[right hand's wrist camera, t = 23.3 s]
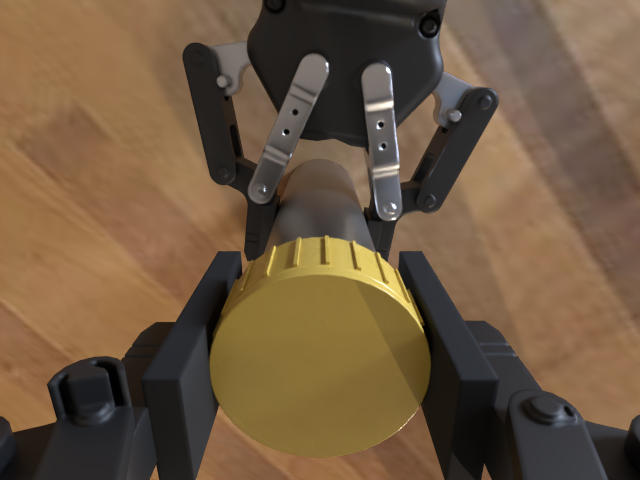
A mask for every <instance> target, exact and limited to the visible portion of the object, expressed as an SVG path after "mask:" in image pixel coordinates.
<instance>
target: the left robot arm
mask: <svg viewBox="0 0 640 480" xmlns="http://www.w3.org/2000/svg"><path fill="white" fill-rule="evenodd" d="M446 1H447V0H263V4H262V9H261V12H260V15H259V18H258V20H257V22H256V24H255V25H254V27H253V28H252V30H251V31H250V33H249V36H248V40H247V41H243V42H236V43H230V44H224V45H217V46H211V47H209V46H206V45H203V44H201V43H191V44H189V45H188V46H187V47H186V48H185V49H184V51H183V63H184V67H185V71H186V76H187V80H188V84H189V88H190V92H191V97H192V101H193V105H194V109H195V114H196V118H197V122H198V126H199V131H200V135H201V139H202V143H203V147H204V152H205V156H206V160H207V164H208V169H209V173H210V176H211V178H212V179H213V181H215V182H216V183H218V184H220V185H229V186H231V187H233V188H235V189H237V190H239V191H240V192H242V193H243V194H244V196H245V197H246V199H247V202H248V211H247V223H246V235H245V247H244V252H245V255H246V258H247V261H252V260H253V261H255V260H256V259H258V258H259V257H260V256H262V255H263V254H264V251H265V248H266V245H267V242H268V239H269V236H270V233H271V230H272V227H273V224H274V221H275V218H276V215H277V212H278V209H279V204H280V195H277V186H278V184H279V182H280V180H281V177H282V175H283V173H284V171H285V169H286V166H287V164H288V162H289V160H290V158H291V156H292V153H293V151H294V149H295V147H296V145H297V142H298V140H299V138H300V139H307V140H314V141H319V140H327V139H337V140H339V141H341V142H344V143H346V144H348V145H351V146H356V147H363V148H364V155H365V161H366V166H367V172H368V180H369V187H370V194H371V199H370V205H369V208H366V207H364V212H363V215H364V218H365V221H366V224H367V227H368V230H369V233H370V236H371V239H372V242H373V245H374V248H375V251H376V252H378V253H380V256H381V258H382V259H384V260H385V261H386V262H387V261H388V257H389V251H390V247H391V243H392V238H393V233H394V229H395V225H396V223H397V221H398V220H399V219H400V218H401V217H402V216H404V215H406V214H409V213H414V212H419V211H422V212H424V213H434V212H436V211H437V210H438V209H439V208H440V207H441V205H442V204H443V202H444V200H445V198H446V197H447V195H448V193H449V191H450V190H451V188H452V186H453V184H454V182H455V181H456V179H457V177H458V175H459V174H460V172H461V170H462V168H463V167H464V165H465V163H466V161H467V160H468V158H469V156H470V154H471V153H472V151H473V149H474V147H475V145H476V144H477V142H478V140H479V138H480V137H481V135H482V133H483V131H484V130H485V128H486V126H487V124H488V123H489V121H490V119H491V117H492V115H493V114H494V112H495V110H496V108H497V106H498V102H499V99H498V95H497V93H496V92H495V91H494V90H493V89H491V88H484V87H474V86H472V85H470V84H468V83H466V82H464V81H462V80H460V79H458V78H456V77H454V76H452V75H450V74H448V73H446V72H444V71H443V69H444V66H443V59H442V56H441V52H440V46H439V34H440V28H441V24H442V20H443V15H444V11H445V6H446ZM251 65H252V66H253V68H254V70H255V72H256V74H257V75H258V77H259V79H260V81H261V83H262V85H263V86H264V88H265V90H266V92H267V94H268V96H269V98H270V99H271V101H272V103H273V105H274V107H275V109H276V110H277V112H278V117H277V119H276V121H275V124H274V126H273V128H272V131H271V133H270V135H269V138H268V140H267V142H266V145H265V147H264V150H263V153H262V156H261V158H260V160H259V163H258V165H257V164H255V163H253V162H251V161H249V160H248V159H246V158H244V155H243V150H242V145H241V140H240V135H239V130H238V125H237V121H236V116H235V111H234V106H233V101H232V95H236V94H237V93H239V92H240V90H241V88H242V85H243V73H244V71H245V70H246V69H247V68H248V67H249V66H251ZM431 93H432V94H433V96H434V98H435V108H434V111H433V119H434V121H435V123H436V124H437V125H439V127H438V129H437V130H436V132H435V134H434V136H433V138H432V140H431V142H430V144H429V146H428V147H427V149H426V151H425V153H424V155H423V157H422V159H421V161H420V163H419V165H418V166H417V168H416V170H415V172H414V174H413V176H412V178H411V180H410V181H408V182H403V183H400V180H399V169H400V164H399V154H398V144H397V135H396V128H397V127H398V126H399V125H400V124H401V123H402V122H403V121H404V120H405V119H406V118H407V117H408V116H409V115H410V114H411V113H412V112H413V111H414V110H415V109H416V108H417V107H418V106H419V105H420V104H421V103H422V102H423V101H424V100H425V99H426V98H427V97H428V96H429V95H430V94H431Z"/></svg>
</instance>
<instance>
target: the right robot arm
mask: <svg viewBox="0 0 640 480" xmlns="http://www.w3.org/2000/svg"><path fill="white" fill-rule="evenodd" d="M398 271H399V274H400V276H401V279H402V281H403V283H404V286H405V288H406V290H407V289H409V290H410V292H411V294H412V297H413V299H414V301H415V303H416V306H417V308H418V310H419V313H420V315H421V317H422V320H423V322H424V324H425V325H424V326H422V328H423V331H424V333H425V336H426V338H427V341H428V344H429V349H430V353H431V370H430V379H429V385H428V389H427V392H426V394H425V397H424V399H423V401H422V403H421V406H422V409H423V413H424V416H425V419H426V422H427V425H428V428H429V432H430V435H431V438H432V441H433V444H434V448H435V451H436V454H437V457H438V460H439V463H440V467H441V470H442V473H443V476H444V479H445V480H481V477H482V472H483V466H484V463H485V465H486V468H487V470H488V472H489V475H490V477H491V479H492V480H640V415H638V416H637V417H635V418H634V419H633V420H632V422H631V425H630V428H629V430H628V431H626V430H622V429H617V428H613V427H609V426H604V425H600V424H595V423H592V422H588V421H585V420H583V418H582V416H581V415H580V414H579V412H578V411H577V409H576V408H575V407H573V406H572V405H571V404H570V403H568V402H567V401H566V400H564V399H562V398H560V397H558V396H556V395H555V394H553V393H549V392H546V391H542V389H541V388H540V386H539V385H538V384H537V382H536V381H535V380H534V378H533V377H532V375H531V374H530V373H529V371H528V370H527V368H526V367H525V366H524V364H523V363H522V362H521V360H520V359H519V357H518V356H516V353H515V352H514V351H513V349H512V348H511V346H508V342H507V341H506V340H505V338H504V337H503V335H502V334H501V333H500V331H498V330H497V329H495V328H494V327H493V326H491V325H490V324H488V323H487V322H485V321H464V320H463V318H462V317H461V315H460V313H459V312H458V310H457V309H456V307H455V305H454V304H453V302H452V300H451V299H450V297H449V295H448V294H447V292H446V290H445V289H444V287H443V286H442V284H441V282H440V281H439V279H438V277H437V276H436V274H435V272H434V271H433V269H432V267H431V266H430V264H429V263H428V261H427V259H426V258H425V256H424V254H423V253H422V251H400V253H399V266H398ZM241 276H242V263H241V251H218V253H217V255H216V256H215V258H214V260H213V261H212V263H211V265H210V266H209V268H208V270H207V271H206V273H205V274H204V276H203V278H202V279H201V281H200V283H199V284H198V286H197V288H196V289H195V291H194V293H193V294H192V296H191V297H190V299H189V301H188V302H187V304H186V306H185V307H184V309H183V311H182V312H181V314H180V316H179V317H178V319H177V321H176V322H156V323H154V324H153V325H151V326H150V327H148V328H147V329H145V330H144V331H143V332H141V333H140V335H139V336H138V338H137V339H136V340H135V342H134V343H133V344H132V347H130V349H129V350H128V351H127V353H126V354H125V358H122V360H121V361H120V360H119V359H117V358H113V357H108V356H102V357H92V358H88V359H84V360H80V361H78V362H75V363H73V364H71V365H69V366H66V367H65V368H63V369H62V370H61V371H59V372H58V373H56V374H55V375H54V376H53V377H52V378H51V380H50V381H49V382H48V384H47V386H48V390H49V393H50V397H51V400H52V404H53V407H54V411H55V414H56V417H57V421H56V422H54V423H51V424H48V425H44V426H39V427H35V428H31V429H26V430H22V431H18V432H12V429H11V427H10V424H9V422H8V421H7V420H6V419H5V418H4V417H1V416H0V480H150V477H151V475H152V473H153V470H154V468H155V466H156V465H157V470H158V476H159V480H196V477H197V474H198V471H199V467H200V464H201V461H202V458H203V455H204V451H205V448H206V445H207V442H208V439H209V436H210V432H211V429H212V426H213V423H214V420H215V417H216V413H217V410H218V407H219V403H218V401H217V399H216V397H215V394H214V392H213V389H212V385H211V377H210V368H209V354H210V349H211V344H212V341H213V337H212V335H213V332H214V330H215V328H216V325H217V323H218V321H219V318H220V316H221V312H222V309H223V307H224V305H225V302H226V300H227V298H228V296H229V293H230V291H231V289H232V286H233V284H234V282H235V280H236V279H238V280H239V279H240V277H241Z"/></svg>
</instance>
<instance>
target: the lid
mask: <svg viewBox="0 0 640 480" xmlns="http://www.w3.org/2000/svg"><path fill="white" fill-rule="evenodd" d="M424 325H425V324H424V322H423V320H422V317H421V315H420V313H419V310H418V308H417V306H416V303H415V301H414V299H413V297H412V294H411V292H410V290H409V289H407V290H406V288H405V286H404V283H403V281H402V279H401V276H400V274H399V271H398V270H397V269H395V270H394V269H393V268H392V267H391V266H390V265H389V264H388V263H387V262H386V261H385V260H384V259H382V258H381V256H380V253H378V252H376V253H374V252H372V251H371V250H369V249H367V248H365V247H363V246H361V245H358V244H356V241H353V240H352V242H350V241H346V240H342V239H336V238H329V236H326V235H325V237H312V238H304V239H301V237H298V238H297V240H294V241H291V242H287V243H285V244H282V245H279V246H277V247H275V246H272V247H271V250H269V251H268V252H266V253H264V254H263V255H262V256H260V257H259V258H258V259H256V260H255V261H253V260H252V261H251V262H250V263H249V266H248V268H247V269H246V270H245V272H244V273H243V274H242V276H241V277H240V279H239V280H238V279H236V280H235V282H234V284H233V286H232V289H231V291H230V293H229V296H228V298H227V300H226V302H225V305H224V307H223V309H222V312H221V316H220V318H219V321H218V323H217V325H216V328H215V330H214V332H213V335H212V337H213V341H212V344H211V349H210V354H209V368H210V377H211V385H212V389H213V392H214V394H215V397H216V399H217V401H218V403H219V405H220V406H221V408H222V409H223V411H224V413H225V414H226V415H227V416H228V417H229V419H230V420H231V421H232V422H233V423H234V424H235V425H236V426H237V427H238V428H239V429H240V430H241V431H243V432H244V433H245V434H247V435H248V436H250V437H251V438H252V439H254V440H256V441H258V442H260V443H261V444H263V445H265V446H268V447H270V448H273V449H275V450H278V451H281V452H285V453H288V454H293V455H298V456H306V457H334V456H342V455H347V454H352V453H356V452H359V451H362V450H365V449H368V448H370V447H372V446H375V445H377V444H379V443H381V442H382V441H384V440H386V439H388V438H389V437H391V436H392V435H393V434H395V433H396V432H397V431H399V430H400V429H401V428H402V427H403V426H404V425H405V424H406V423H407V422H408V421H409V420H410V419H411V418H412V416H413V415H414V414H415V413H416V411H417V410H418V408H419V406H420V405H421V403H422V401H423V399H424V397H425V394H426V392H427V389H428V385H429V379H430V370H431V353H430V349H429V344H428V341H427V338H426V336H425V333H424V331H423V328H422V326H424Z"/></svg>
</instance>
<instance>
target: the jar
mask: <svg viewBox="0 0 640 480" xmlns="http://www.w3.org/2000/svg"><path fill="white" fill-rule="evenodd" d="M325 235H326V236H329V238H336V239H342V240H346V241H350V242H352V240H353V241H356V244H358V245H361V246H363V247H365V248H367V249H369V250H371V251H372V252H374V253H376V251H375V248H374V245H373V242H372V239H371V236H370V233H369V230H368V227H367V224H366V221H365V218H364V215H363V212H362V209H361V206H360V203H359V200H358V197H357V194H356V191H355V188H354V185H353V182H352V179H351V177H350V175H349V174H348V172H347V171H346V170H345V169H344V168H343V167H342V166H340V165H339V164H337V163H335V162H333V161H330V160H325V159H315V160H310V161H308V162H305V163H303V164H302V165H300V166H299V167H298V168H296V169H295V170H294V172H293V173H292V174H291V176H290V178H289V180H288V182H287V185H286V188H285V191H284V194H283V197H282V200H281V203H280V206H279V209H278V212H277V215H276V218H275V221H274V224H273V227H272V230H271V233H270V236H269V239H268V242H267V245H266V248H265V251H264V253H266V252H268V251H269V250H271V247H272V246H275V247H277V246H279V245H282V244H285V243H287V242H291V241H294V240H297V238H298V237H301V239H304V238H312V237H325Z"/></svg>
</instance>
